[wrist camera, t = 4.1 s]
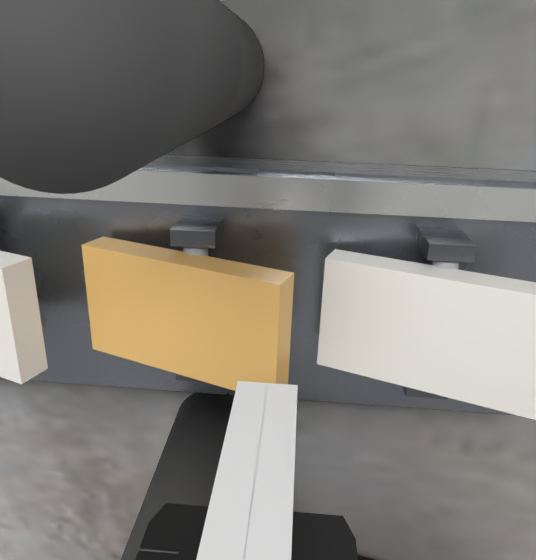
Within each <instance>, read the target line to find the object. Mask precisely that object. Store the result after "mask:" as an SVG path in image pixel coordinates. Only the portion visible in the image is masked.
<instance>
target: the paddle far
mask: <svg viewBox="0 0 536 560" xmlns="http://www.w3.org/2000/svg"><path fill="white" fill-rule="evenodd" d="M46 369H48V365H47V358H46V352H45V345H44V338H43V331H42V324H41V318H40V311H39V304H38V297H37V291H36V284H35V277H34V270H33V264H32V258H31V257H27V256H22V255H18V254H13V253H9V252H4V251H0V377H2V378H5V379H8V380H11V381H13V382H16V383H19V384H23V383H25V382H27V381H28V380H30V379H31V378H33V377H35V376H36V375H38V374H40V373H41V372H43V371H44V370H46Z"/></svg>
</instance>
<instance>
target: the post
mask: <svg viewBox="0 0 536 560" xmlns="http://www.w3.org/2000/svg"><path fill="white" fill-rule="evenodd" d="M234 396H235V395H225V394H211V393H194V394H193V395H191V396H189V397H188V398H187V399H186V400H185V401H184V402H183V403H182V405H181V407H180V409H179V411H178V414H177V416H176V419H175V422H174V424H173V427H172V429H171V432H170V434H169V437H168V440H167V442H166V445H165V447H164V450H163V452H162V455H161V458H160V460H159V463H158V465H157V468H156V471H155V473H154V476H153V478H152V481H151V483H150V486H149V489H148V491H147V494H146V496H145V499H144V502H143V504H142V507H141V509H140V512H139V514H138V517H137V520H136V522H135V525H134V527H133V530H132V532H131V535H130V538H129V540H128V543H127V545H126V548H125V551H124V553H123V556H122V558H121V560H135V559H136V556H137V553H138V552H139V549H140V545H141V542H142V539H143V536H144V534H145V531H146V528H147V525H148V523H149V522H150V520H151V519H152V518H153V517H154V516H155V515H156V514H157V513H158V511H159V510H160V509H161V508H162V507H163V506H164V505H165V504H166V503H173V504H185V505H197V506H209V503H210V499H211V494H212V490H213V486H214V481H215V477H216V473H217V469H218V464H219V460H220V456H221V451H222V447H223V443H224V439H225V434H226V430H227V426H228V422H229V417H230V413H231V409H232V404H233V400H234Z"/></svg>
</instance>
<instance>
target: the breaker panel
mask: <svg viewBox="0 0 536 560" xmlns="http://www.w3.org/2000/svg"><path fill="white" fill-rule="evenodd" d="M103 236H104V237H109V238H114V239H120V240H125V241H130V242H136V243H141V244H146V245H151V246H157V247H162V248H167V249H172V250H178V251H183V247H197V248H208V256H209V257H215V258H220V259H225V260H230V261H236V262H241V263H246V264H251V265H257V266H262V267H267V268H272V269H278V270H283V271H288V272H294V287H293V305H292V323H291V341H290V359H289V377H288V384H289V385H298V389H297V400H309V401H323V402H337V403H351V404H365V405H379V406H393V407H407V408H421V409H435V410H449V411H463V412H477V413H491V414H505V415H514V414H510V413H506V412H502V411H498V410H495V409H491V408H487V407H483V406H479V405H475V404H471V403H467V402H463V401H459V400H456V399H452V398H448V397H444V396H440V395H436V394H432V393H428V392H424V391H420V390H416V389H413V388H409V387H405V386H401V385H397V384H393V383H389V382H385V381H381V380H377V379H373V378H370V377H366V376H362V375H358V374H354V373H350V372H346V371H342V370H338V369H334V368H331V367H327V366H323V365H319V364H317V356H318V344H319V331H320V318H321V306H322V293H323V280H324V268H325V258H326V257H327V256H328V255H329V254H330V253H332V252H333V251H334V250H335V249H338V250H344V251H350V252H356V253H362V254H368V255H374V256H380V257H386V258H392V259H398V260H404V261H410V262H416V263H422V264H428V265H432V262H433V261H451V262H460V263H459V268H458V270H464V271H470V272H476V273H482V274H488V275H494V276H500V277H506V278H512V279H518V280H524V281H530V282H536V171H522V170H500V169H478V168H455V167H433V166H411V165H389V164H366V163H344V162H322V161H300V160H277V159H255V158H233V157H211V156H188V155H166V154H165V155H163V156H161V157H160V158H158V159H156V160H154V161H152V162H151V163H149V164H147V165H145V166H144V167H142V168H140V169H138V170H136V171H135V172H133V173H131V174H129V175H128V176H126V177H124V178H122V179H120V180H118V181H116V182H114V183H112V184H110V185H108V186H106V187H102V188H99V189H96V190H93V191H88V192H82V193H75V194H55V193H46V192H40V191H36V190H32V189H28V188H24V187H22V186H19V185H16V184H14V183H11V182H8V181H7V180H5V179H3V178H1V177H0V251H4V252H9V253H13V254H18V255H22V256H27V257H31V258H32V264H33V270H34V277H35V284H36V291H37V297H38V304H39V311H40V318H41V324H42V331H43V338H44V345H45V352H46V358H47V365H48V369H46V370H44V371H43V372H41V373H40V374H38V375H36V376H35V377H33V378H31V379H30V380H29V381H43V382H57V383H71V384H85V385H99V386H113V387H127V388H141V389H155V390H169V391H183V392H197V393H211V394H225V395H235V392H236V391H234V390H230V389H227V388H224V387H220V386H217V385H213V384H210V383H207V382H203V381H200V380H196V379H193V378H190V377H186V376H183V375H180V374H176V373H173V372H169V371H166V370H163V369H159V368H156V367H152V366H149V365H146V364H142V363H139V362H135V361H132V360H129V359H125V358H122V357H118V356H115V355H112V354H108V353H105V352H101V351H98V350H95V349H93V347H92V338H91V329H90V319H89V310H88V301H87V292H86V283H85V273H84V264H83V255H82V246H81V245H82V244H85V243H87V242H90V241H93V240H95V239H98V238H101V237H103ZM0 378H1V379H5V378H2V377H0Z"/></svg>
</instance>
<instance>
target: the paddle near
mask: <svg viewBox="0 0 536 560" xmlns="http://www.w3.org/2000/svg"><path fill="white" fill-rule="evenodd" d="M459 263H460V262H451V261H433V262H432V265H428V264H422V263H416V262H410V261H404V260H398V259H392V258H386V257H380V256H374V255H368V254H362V253H356V252H350V251H344V250H338V249H335V250H334V251H333V252H332V253H330V254H329V255H328V256H327V257H326V258H325V268H324V280H323V293H322V306H321V318H320V331H319V344H318V356H317V364H319V365H323V366H327V367H331V368H334V369H338V370H342V371H346V372H350V373H354V374H358V375H362V376H366V377H370V378H373V379H377V380H381V381H385V382H389V383H393V384H397V385H401V386H405V387H409V388H413V389H416V390H420V391H424V392H428V393H432V394H436V395H440V396H444V397H448V398H452V399H456V400H459V401H463V402H467V403H471V404H475V405H479V406H483V407H487V408H491V409H495V410H498V411H502V412H506V413H510V414H514V415H518V416H522V417H526V418H530V419H534V420H536V282H530V281H524V280H518V279H512V278H506V277H500V276H494V275H488V274H482V273H476V272H470V271H464V270H458V268H459Z"/></svg>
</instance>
